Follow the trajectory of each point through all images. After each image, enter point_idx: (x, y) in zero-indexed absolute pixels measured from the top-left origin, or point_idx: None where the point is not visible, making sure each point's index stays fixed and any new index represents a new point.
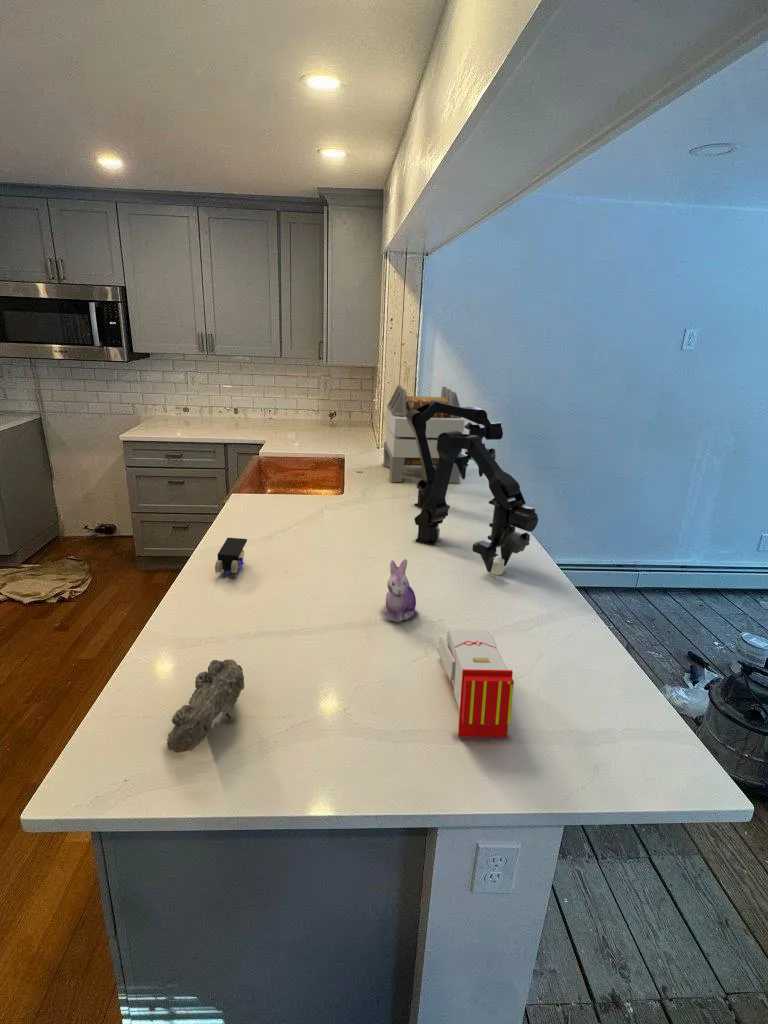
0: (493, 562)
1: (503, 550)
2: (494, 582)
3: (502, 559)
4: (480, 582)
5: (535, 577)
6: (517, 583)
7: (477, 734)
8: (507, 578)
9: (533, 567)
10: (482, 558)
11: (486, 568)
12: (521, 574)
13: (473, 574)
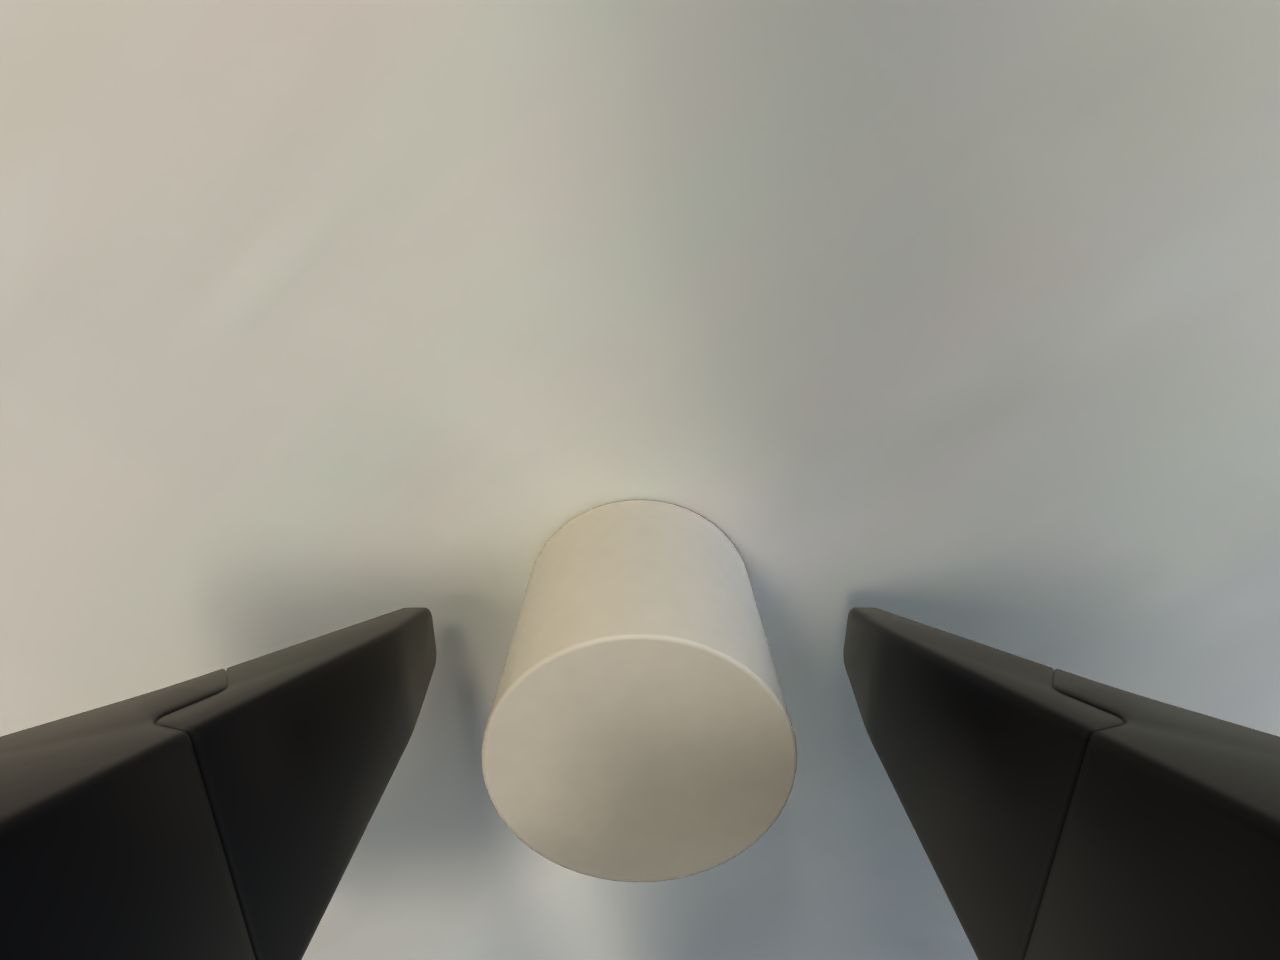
0: (483, 752)
1: (1035, 820)
2: None
3: (751, 809)
4: (137, 679)
5: (939, 957)
6: (596, 933)
7: None
8: None
9: None
10: (147, 695)
11: (367, 624)
12: (880, 833)
13: (206, 438)
